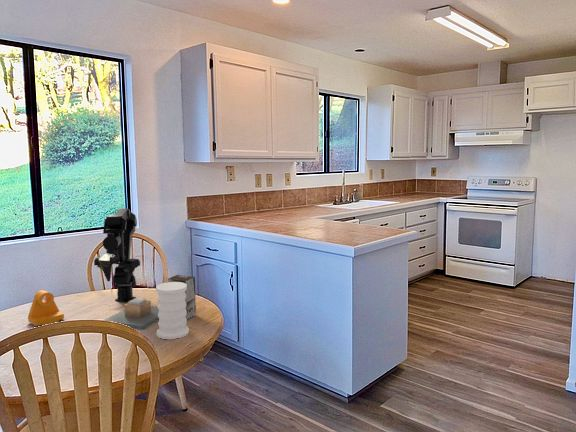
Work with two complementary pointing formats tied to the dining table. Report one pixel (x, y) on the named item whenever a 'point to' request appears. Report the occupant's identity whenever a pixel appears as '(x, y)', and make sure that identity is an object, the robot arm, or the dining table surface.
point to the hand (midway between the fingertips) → (118, 282)
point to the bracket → (44, 309)
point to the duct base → (136, 321)
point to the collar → (137, 310)
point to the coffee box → (187, 293)
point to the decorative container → (172, 310)
